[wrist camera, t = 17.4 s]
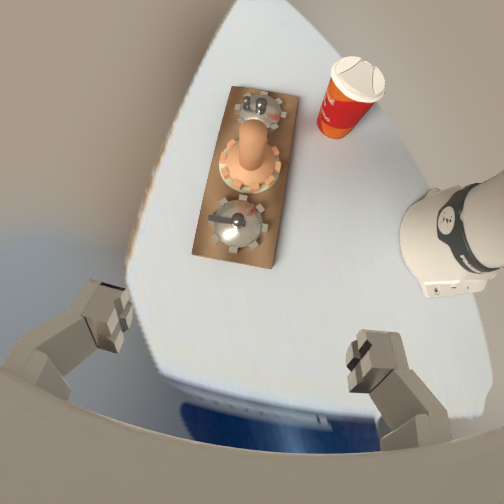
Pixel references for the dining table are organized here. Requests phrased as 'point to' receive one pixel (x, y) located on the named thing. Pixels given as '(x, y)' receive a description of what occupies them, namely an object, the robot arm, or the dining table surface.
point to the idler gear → (250, 157)
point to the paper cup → (349, 95)
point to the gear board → (266, 196)
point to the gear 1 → (261, 110)
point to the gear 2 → (238, 224)
